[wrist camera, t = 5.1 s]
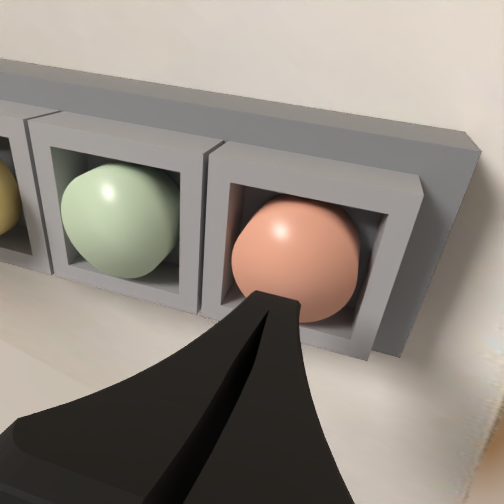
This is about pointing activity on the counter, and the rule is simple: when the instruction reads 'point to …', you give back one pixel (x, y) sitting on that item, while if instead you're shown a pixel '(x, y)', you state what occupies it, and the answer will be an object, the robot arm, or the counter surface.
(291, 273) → the salmon pink button
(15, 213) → the yellow rounded piece
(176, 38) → the counter surface
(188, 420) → the robot arm
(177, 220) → the sage button
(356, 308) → the button panel
